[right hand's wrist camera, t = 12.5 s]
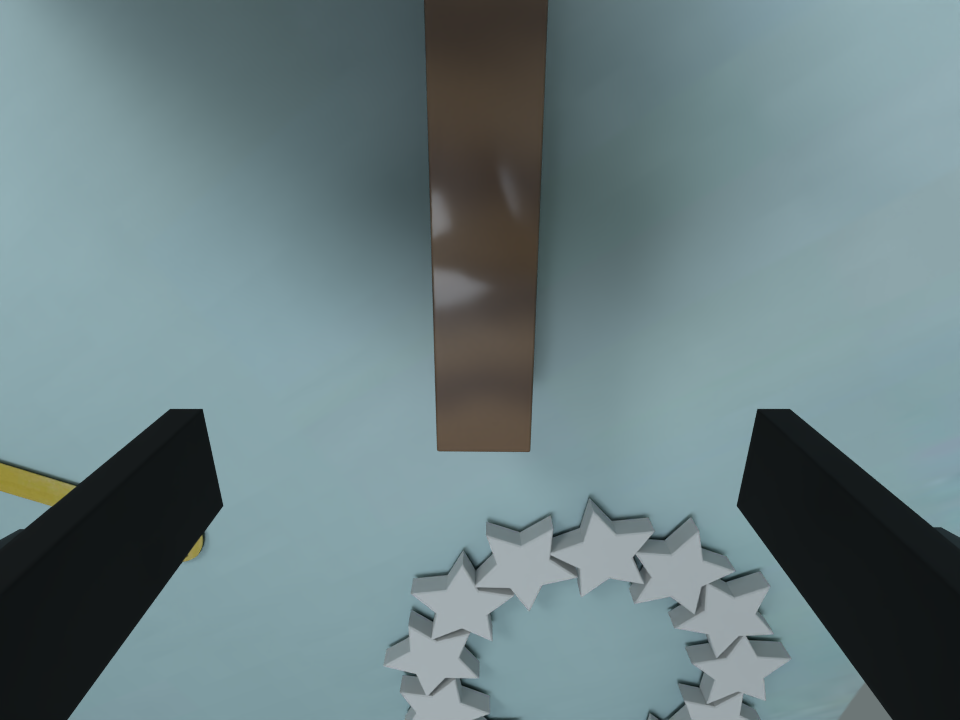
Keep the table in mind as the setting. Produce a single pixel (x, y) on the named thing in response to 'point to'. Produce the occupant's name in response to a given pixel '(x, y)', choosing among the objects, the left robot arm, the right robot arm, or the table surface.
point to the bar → (485, 215)
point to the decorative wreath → (598, 556)
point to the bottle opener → (48, 491)
